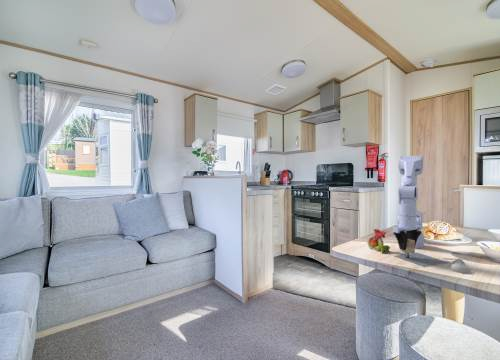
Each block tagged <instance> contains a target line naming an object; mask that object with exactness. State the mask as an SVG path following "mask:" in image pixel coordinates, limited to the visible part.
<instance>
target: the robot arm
mask: <svg viewBox="0 0 500 360" xmlns="http://www.w3.org/2000/svg"><path fill="white" fill-rule="evenodd" d="M397 164H398V172H399V173H400V175H402V176H401V178H400V186H399V187H398V188H397V196H398V206H399V211H398V213H397V224H396V226H393V227H392V231H393V233H392V234H394V237H395V238H396V240H397V243H398V249H399V250H400V249H402V250H406V246H407V240H408V239H411V240H414V241H415V249H419V248H425V246H424V245H425V235H424V232H423V231H422V230H423V214H422V212H421V211H419V210H417V201H418V198H419V197H418V196H419V195H418V193H419V191H418V190H419V188H418V185H417V184H418V176H419V175H422V174H423V172H424V155H422V154H421V155H405V156H404V155H400V156H399V157H398V163H397Z"/></svg>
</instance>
